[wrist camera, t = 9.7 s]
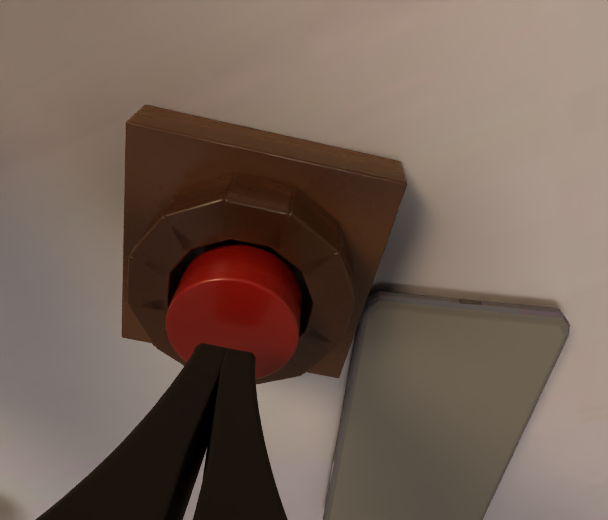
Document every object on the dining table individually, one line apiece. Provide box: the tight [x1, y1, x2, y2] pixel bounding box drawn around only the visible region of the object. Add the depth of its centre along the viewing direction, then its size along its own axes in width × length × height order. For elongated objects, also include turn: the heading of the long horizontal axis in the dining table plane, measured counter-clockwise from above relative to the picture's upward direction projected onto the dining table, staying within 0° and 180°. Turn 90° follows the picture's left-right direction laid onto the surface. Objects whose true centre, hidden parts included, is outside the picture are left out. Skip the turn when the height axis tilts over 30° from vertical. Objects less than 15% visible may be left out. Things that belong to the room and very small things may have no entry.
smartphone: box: [323, 291, 570, 520], centre depth 22 cm, size 8×1×15 cm
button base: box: [122, 105, 407, 384], centre depth 16 cm, size 8×8×4 cm
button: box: [166, 244, 302, 379], centre depth 14 cm, size 4×4×2 cm
